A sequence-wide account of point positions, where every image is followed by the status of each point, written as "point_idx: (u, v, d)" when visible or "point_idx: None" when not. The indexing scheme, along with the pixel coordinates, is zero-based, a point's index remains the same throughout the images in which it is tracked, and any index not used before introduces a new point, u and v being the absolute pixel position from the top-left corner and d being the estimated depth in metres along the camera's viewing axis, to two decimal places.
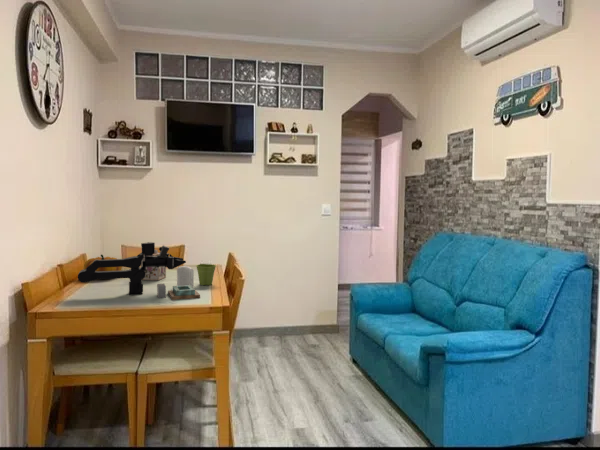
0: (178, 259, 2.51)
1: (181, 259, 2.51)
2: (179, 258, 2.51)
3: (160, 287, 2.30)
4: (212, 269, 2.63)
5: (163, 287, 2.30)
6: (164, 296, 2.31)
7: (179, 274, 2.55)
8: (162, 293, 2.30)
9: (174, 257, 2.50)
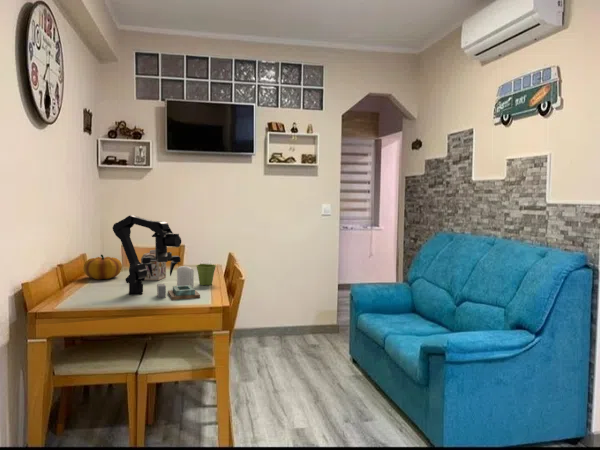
0: (170, 270, 2.34)
1: (170, 273, 2.35)
2: (170, 272, 2.34)
3: (160, 287, 2.30)
4: (212, 269, 2.63)
5: (163, 287, 2.30)
6: (164, 296, 2.31)
7: (179, 274, 2.55)
8: (162, 293, 2.30)
9: (171, 267, 2.33)
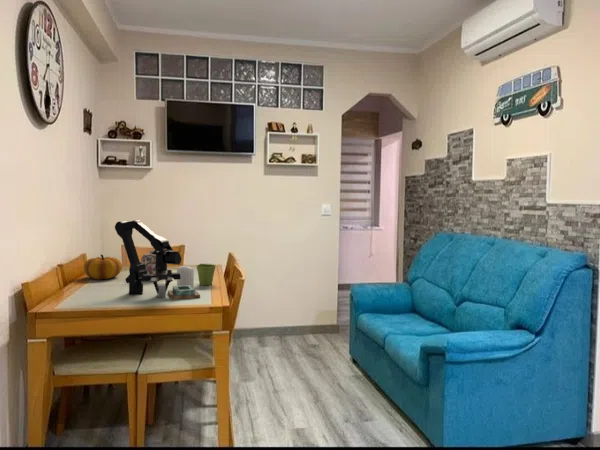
0: None
1: None
2: None
3: (160, 287, 2.30)
4: (212, 269, 2.63)
5: (163, 287, 2.30)
6: (164, 296, 2.31)
7: None
8: (162, 293, 2.30)
9: (166, 284, 2.33)
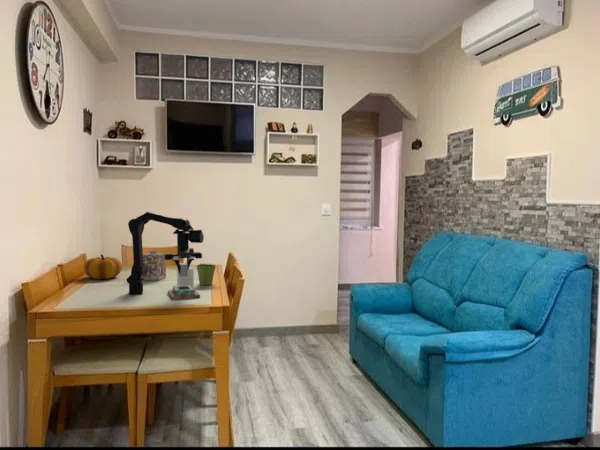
0: None
1: None
2: None
3: (182, 266, 2.31)
4: (212, 269, 2.63)
5: (185, 266, 2.32)
6: (186, 275, 2.32)
7: None
8: (184, 272, 2.32)
9: (187, 263, 2.35)
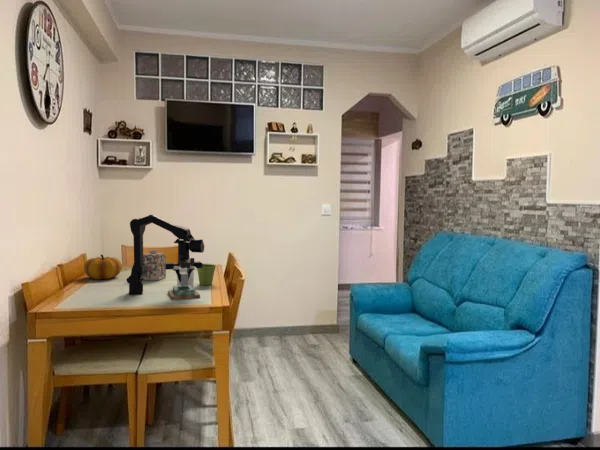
0: None
1: None
2: None
3: (183, 275, 2.32)
4: (212, 269, 2.63)
5: (185, 275, 2.32)
6: (186, 284, 2.33)
7: None
8: (185, 281, 2.32)
9: (188, 273, 2.35)
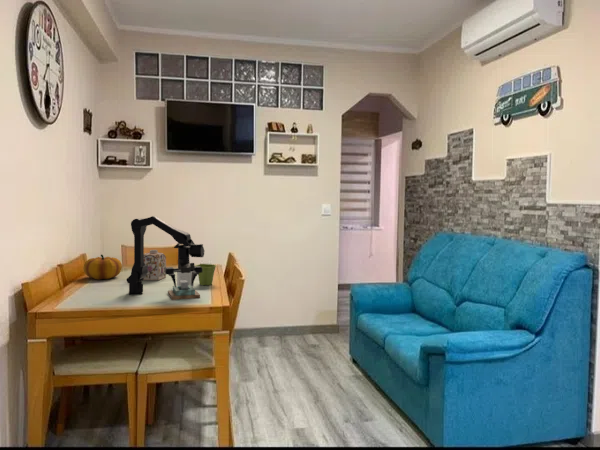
0: (191, 281, 2.37)
1: (191, 284, 2.37)
2: (191, 282, 2.37)
3: (183, 283, 2.32)
4: (212, 269, 2.63)
5: (185, 283, 2.33)
6: None
7: (179, 274, 2.55)
8: None
9: (192, 277, 2.36)
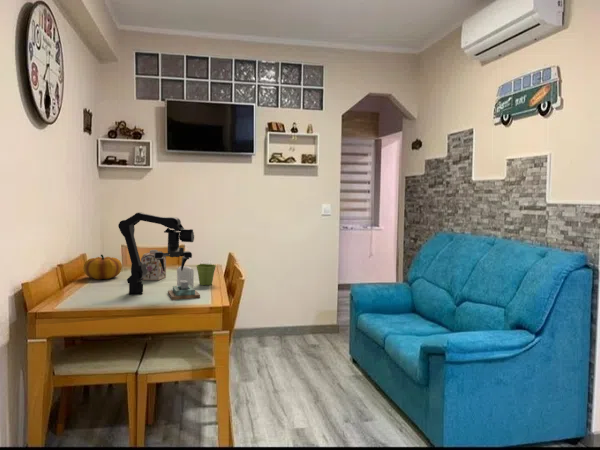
0: (181, 266, 2.39)
1: (181, 269, 2.39)
2: (181, 267, 2.39)
3: (183, 283, 2.32)
4: (212, 269, 2.63)
5: (185, 283, 2.33)
6: None
7: (179, 274, 2.55)
8: None
9: (182, 262, 2.38)
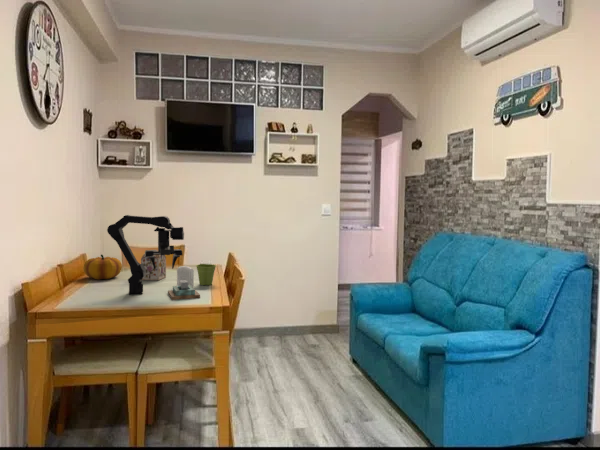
0: (172, 263, 2.41)
1: (172, 266, 2.42)
2: (172, 265, 2.41)
3: (183, 283, 2.32)
4: (212, 269, 2.63)
5: (185, 283, 2.33)
6: None
7: (179, 274, 2.55)
8: None
9: (173, 260, 2.40)
